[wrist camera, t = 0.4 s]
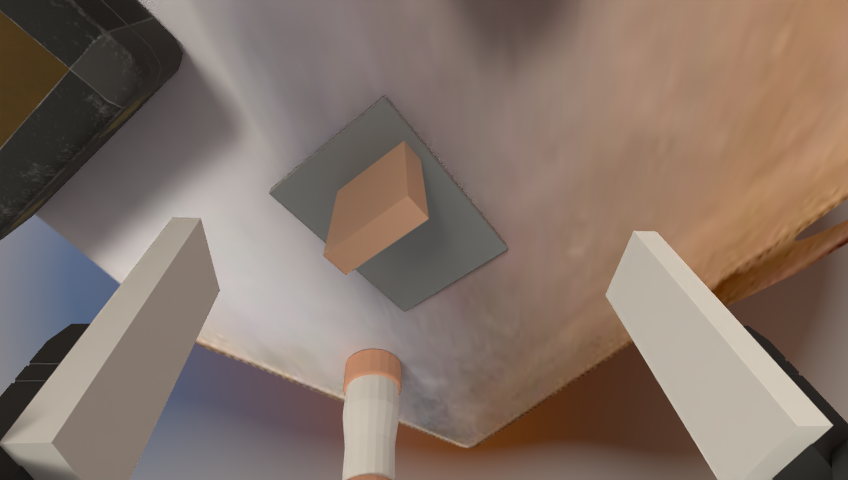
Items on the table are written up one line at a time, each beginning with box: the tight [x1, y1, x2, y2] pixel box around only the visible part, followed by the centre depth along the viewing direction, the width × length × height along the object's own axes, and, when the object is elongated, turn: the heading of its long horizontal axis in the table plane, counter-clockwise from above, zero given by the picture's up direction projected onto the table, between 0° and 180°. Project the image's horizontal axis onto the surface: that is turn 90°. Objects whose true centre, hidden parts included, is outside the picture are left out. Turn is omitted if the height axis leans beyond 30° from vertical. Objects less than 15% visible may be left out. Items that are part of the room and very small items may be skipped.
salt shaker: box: [342, 349, 401, 480], centre depth 48 cm, size 7×7×19 cm
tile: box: [323, 141, 429, 275], centre depth 35 cm, size 3×8×10 cm, turn 127°
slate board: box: [269, 96, 508, 312], centre depth 42 cm, size 20×14×1 cm
